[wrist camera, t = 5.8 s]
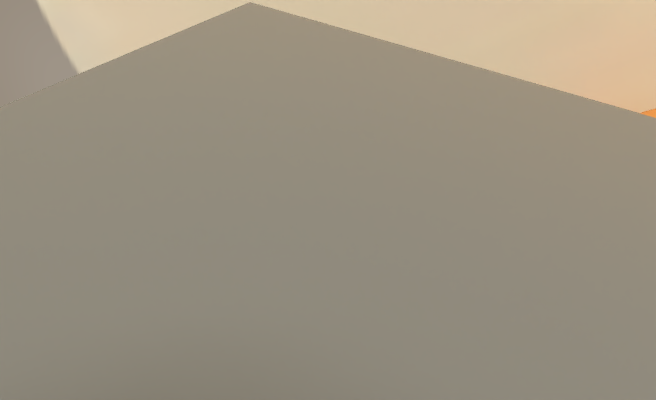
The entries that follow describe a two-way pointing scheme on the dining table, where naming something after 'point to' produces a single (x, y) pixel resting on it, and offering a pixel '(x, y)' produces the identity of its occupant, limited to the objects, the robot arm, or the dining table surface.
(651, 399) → the matte grey cube
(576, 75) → the dining table surface
